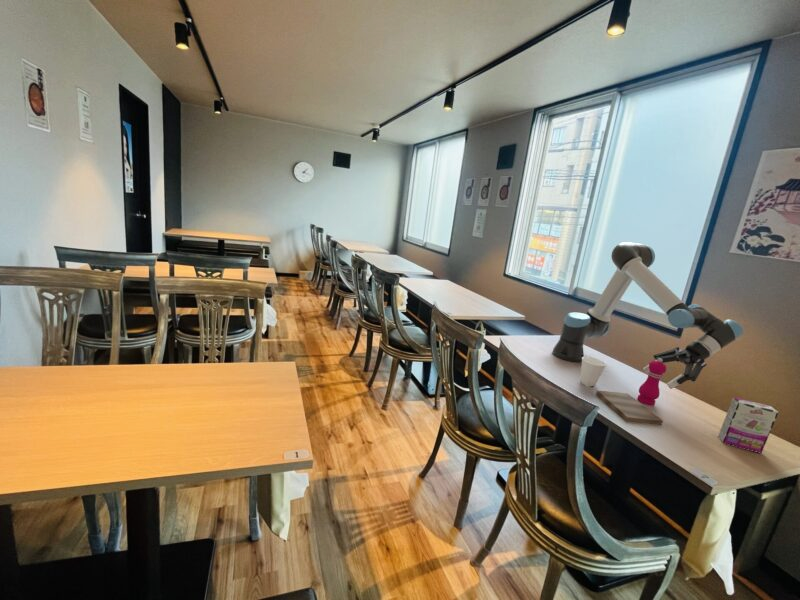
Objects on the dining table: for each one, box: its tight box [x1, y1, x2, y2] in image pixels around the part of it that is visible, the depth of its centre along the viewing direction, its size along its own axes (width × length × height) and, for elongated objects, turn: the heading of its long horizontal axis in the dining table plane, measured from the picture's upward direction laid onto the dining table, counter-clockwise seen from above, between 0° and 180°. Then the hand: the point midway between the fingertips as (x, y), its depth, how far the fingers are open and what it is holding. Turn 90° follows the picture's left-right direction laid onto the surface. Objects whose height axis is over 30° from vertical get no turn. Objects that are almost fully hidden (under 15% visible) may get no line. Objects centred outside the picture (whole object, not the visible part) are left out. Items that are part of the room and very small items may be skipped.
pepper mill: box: [636, 358, 667, 407], centre depth 152 cm, size 7×7×20 cm
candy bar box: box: [717, 396, 780, 454], centre depth 129 cm, size 11×5×16 cm, turn 68°
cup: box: [579, 356, 607, 387], centre depth 163 cm, size 10×10×11 cm
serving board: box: [595, 389, 664, 426], centre depth 145 cm, size 20×14×2 cm
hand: (656, 378), depth 151 cm, fingers open, 13 cm apart
